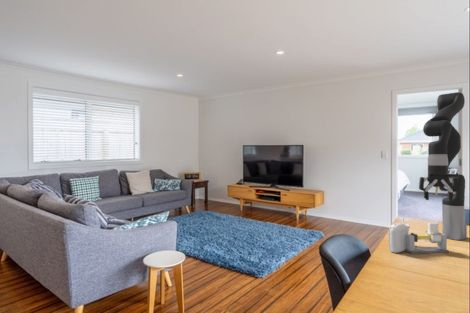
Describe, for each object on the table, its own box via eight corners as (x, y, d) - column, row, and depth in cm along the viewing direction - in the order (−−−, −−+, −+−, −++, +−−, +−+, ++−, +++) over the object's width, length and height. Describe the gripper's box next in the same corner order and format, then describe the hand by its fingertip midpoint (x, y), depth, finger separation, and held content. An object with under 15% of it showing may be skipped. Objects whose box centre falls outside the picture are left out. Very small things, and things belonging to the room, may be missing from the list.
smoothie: (404, 247, 135) (404, 218, 135) (391, 244, 140) (391, 215, 140) (412, 245, 138) (412, 216, 138) (400, 241, 143) (399, 214, 143)
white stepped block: (433, 239, 132) (433, 221, 132) (441, 242, 127) (441, 224, 127) (425, 240, 132) (425, 222, 132) (432, 243, 127) (432, 224, 127)
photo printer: (399, 247, 135) (398, 221, 136) (409, 249, 132) (408, 222, 132) (388, 251, 130) (386, 224, 130) (397, 254, 126) (396, 225, 126)
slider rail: (439, 248, 132) (439, 231, 132) (448, 252, 127) (448, 234, 127) (404, 250, 131) (404, 232, 131) (411, 253, 126) (411, 235, 126)
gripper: (453, 164, 131) (453, 200, 131) (417, 164, 136) (417, 198, 135) (459, 164, 124) (460, 202, 124) (421, 164, 129) (422, 200, 128)
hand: (438, 200), depth 129 cm, fingers open, 8 cm apart
